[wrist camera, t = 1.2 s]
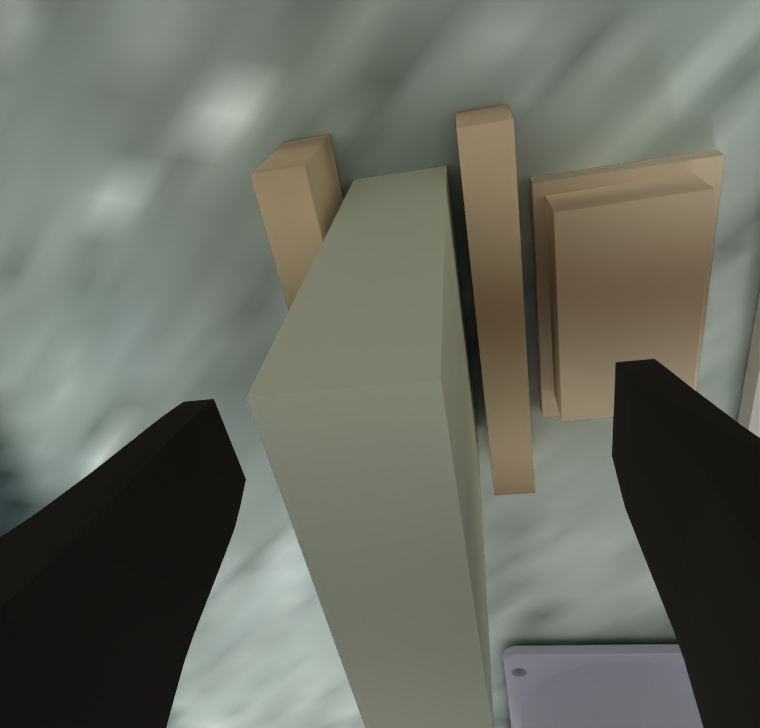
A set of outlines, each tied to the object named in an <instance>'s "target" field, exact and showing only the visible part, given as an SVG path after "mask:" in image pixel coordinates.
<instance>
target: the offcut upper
mask: <svg viewBox="0 0 760 728" xmlns="http://www.w3.org/2000/svg"><path fill="white" fill-rule="evenodd" d="M713 196H714V188H713V187H711V186H710V185H709V184H707V183H706V182H705V181H703V180H702V179H701V178H699V177H698V176H697V175H695V174H694V173H693V172H692V173H686V174H679V175H673V176H666V177H660V178H653V179H647V180H641V181H634V182H628V183H622V184H615V185H609V186H603V187H596V188H590V189H584V190H577V191H571V192H565V193H558V194H552V195H546V196H545V198H546V220H547V243H548V265H549V288H550V310H551V332H552V355H553V377H554V395H555V399H556V403H557V406H558V410H559V413H560V417H561V421H562V422H569V421H579V420H590V419H601V418H612V417H614V390H615V362H623V361H634V360H645V359H656V360H657V361H658V362H660V363H661V364H662V365H663V366H665V367H666V368H667V369H669V370H670V371H671V372H672V373H674V374H675V375H676V376H677V377H679V378H680V379H681V380H683V381H684V382H685V383H686V384H688V385H689V386H690V387H691V388H693V389H694V379H695V369H696V360H697V350H698V340H699V331H700V321H701V311H702V302H703V292H704V282H705V273H706V263H707V254H708V244H709V234H710V225H711V215H712V205H713Z"/></svg>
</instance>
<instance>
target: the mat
mask: <svg viewBox="0 0 760 728" xmlns="http://www.w3.org/2000/svg"><path fill="white" fill-rule="evenodd" d="M737 422H738V423H739V424H741V425H742V426H744V427H745V428H746V429H748V430H749V431H751V432H752V433H753V434H755V435H756V436H758V437H759V438H760V293H759V299H758V304H757V310H756V316H755V322H754V328H753V333H752V339H751V345H750V351H749V357H748V363H747V368H746V374H745V380H744V386H743V392H742V397H741V403H740V409H739V415H738V421H737Z"/></svg>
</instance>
